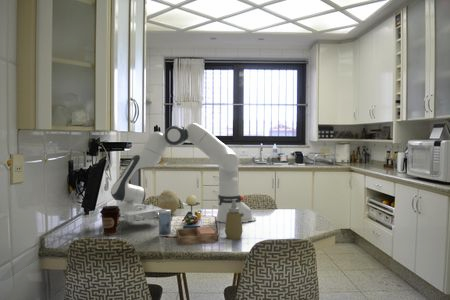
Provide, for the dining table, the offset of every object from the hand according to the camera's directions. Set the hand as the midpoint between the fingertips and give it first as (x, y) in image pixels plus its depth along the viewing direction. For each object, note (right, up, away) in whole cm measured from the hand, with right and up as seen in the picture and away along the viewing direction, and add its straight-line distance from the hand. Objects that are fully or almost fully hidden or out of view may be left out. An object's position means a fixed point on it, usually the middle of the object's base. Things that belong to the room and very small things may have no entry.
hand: (151, 217), depth 155 cm
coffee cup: (-18, -7, -6) cm, 20 cm away
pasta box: (+28, -6, -13) cm, 32 cm away
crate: (+24, -7, -14) cm, 29 cm away
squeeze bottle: (+41, -8, -13) cm, 43 cm away
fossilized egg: (+2, -6, +35) cm, 35 cm away
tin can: (+8, -7, -8) cm, 14 cm away
